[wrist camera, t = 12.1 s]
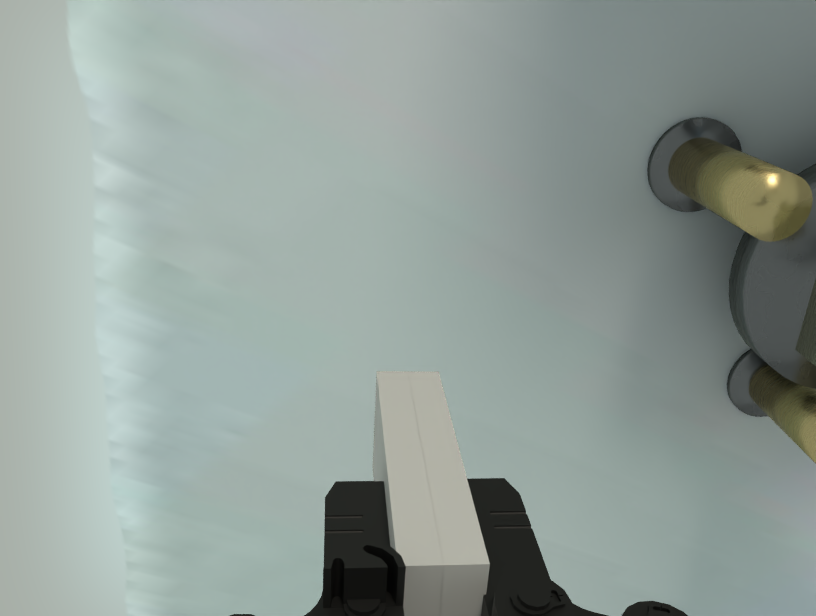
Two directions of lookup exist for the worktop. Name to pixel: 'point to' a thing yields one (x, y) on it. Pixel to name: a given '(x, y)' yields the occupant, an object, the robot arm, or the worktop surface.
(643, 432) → the worktop surface
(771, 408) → the lever
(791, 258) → the surveying level
